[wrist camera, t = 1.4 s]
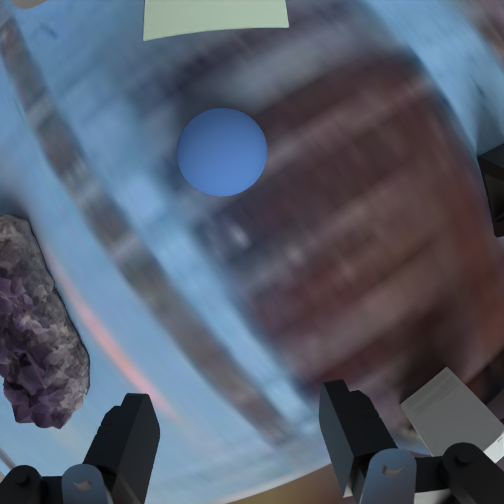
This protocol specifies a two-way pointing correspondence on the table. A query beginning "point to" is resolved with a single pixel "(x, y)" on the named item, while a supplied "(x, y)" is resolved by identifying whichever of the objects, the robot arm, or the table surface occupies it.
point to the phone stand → (494, 185)
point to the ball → (222, 152)
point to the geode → (36, 335)
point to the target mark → (210, 16)
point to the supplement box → (453, 417)
